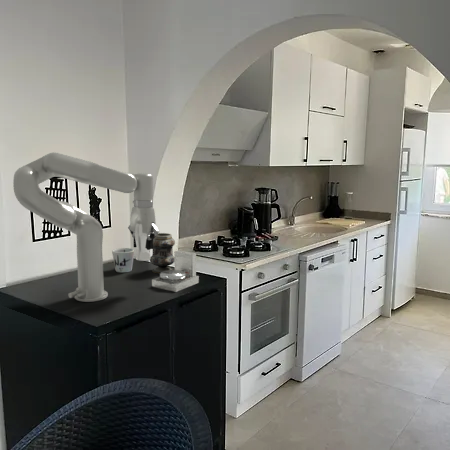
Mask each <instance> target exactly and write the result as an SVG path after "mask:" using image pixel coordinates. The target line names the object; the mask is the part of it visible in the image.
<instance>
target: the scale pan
mask: <svg viewBox="0 0 450 450" xmlns="http://www.w3.org/2000/svg"><path fill="white" fill-rule="evenodd" d="M185 276H186V273H185V272H184V271H183V270H181V271H180V270H175V269H173V270H167V271H163V272H161V273H159V277H161V278H163V279H168V280H176V279H182V278H184V277H185Z"/></svg>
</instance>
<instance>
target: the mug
mask: <svg viewBox="0 0 450 450" xmlns="http://www.w3.org/2000/svg"><path fill="white" fill-rule="evenodd" d="M111 252H112V258H113V263H114V269H115V271H116V272H117V273H129V272H132V269H133V266H134V265H133V264H134V256H135V249H133V248H130V247H121V248H120V247H119V248H115V249H113V250H111Z"/></svg>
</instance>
